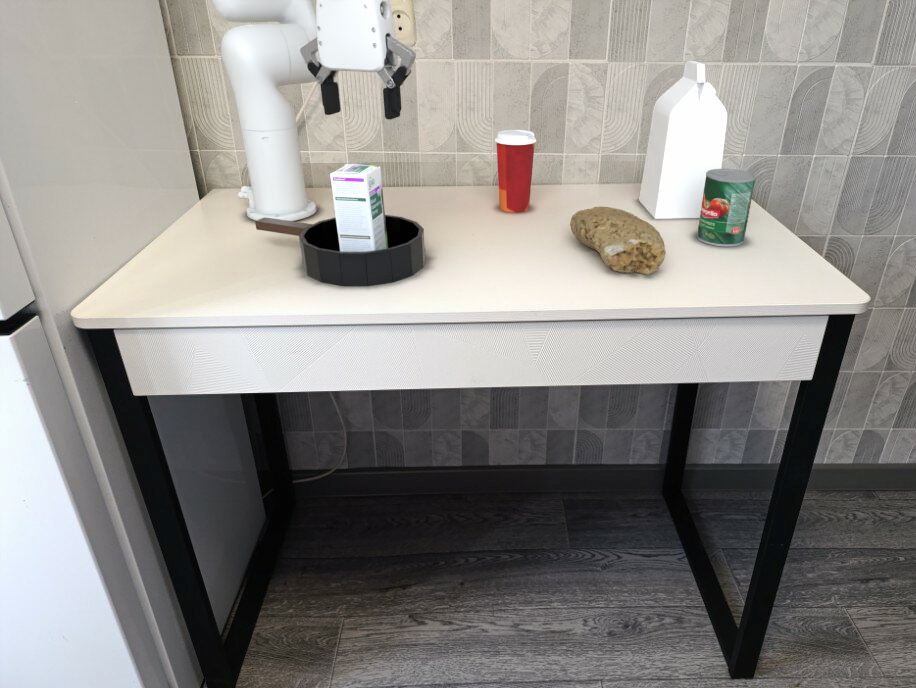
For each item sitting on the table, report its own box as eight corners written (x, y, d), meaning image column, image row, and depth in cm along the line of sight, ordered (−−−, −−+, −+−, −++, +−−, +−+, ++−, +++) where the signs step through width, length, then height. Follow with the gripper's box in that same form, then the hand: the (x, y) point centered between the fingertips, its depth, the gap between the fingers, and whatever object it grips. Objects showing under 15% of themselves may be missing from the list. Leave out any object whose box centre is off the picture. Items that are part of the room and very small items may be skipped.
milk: (638, 200, 139) (654, 58, 126) (695, 199, 140) (716, 58, 127) (654, 218, 129) (673, 66, 116) (715, 217, 130) (740, 66, 117)
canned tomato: (752, 238, 119) (764, 174, 114) (730, 250, 114) (742, 183, 109) (710, 228, 124) (720, 166, 118) (687, 239, 119) (697, 174, 113)
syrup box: (376, 270, 105) (368, 173, 98) (340, 267, 106) (329, 171, 99) (389, 257, 110) (382, 164, 103) (354, 254, 111) (344, 162, 104)
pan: (225, 265, 107) (219, 234, 104) (298, 230, 122) (294, 202, 119) (387, 294, 98) (384, 260, 95) (444, 252, 113) (443, 222, 110)
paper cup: (541, 206, 135) (544, 131, 128) (521, 216, 129) (522, 138, 122) (507, 200, 139) (508, 127, 132) (486, 209, 133) (486, 133, 126)
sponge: (671, 283, 105) (644, 217, 120) (671, 239, 100) (643, 176, 114) (585, 298, 106) (569, 231, 121) (580, 255, 101) (564, 190, 115)
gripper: (423, -25, 89) (429, 115, 98) (309, -25, 95) (325, 108, 103) (395, -25, 83) (404, 124, 92) (275, -25, 89) (294, 116, 97)
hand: (362, 115), depth 97 cm, fingers open, 9 cm apart
